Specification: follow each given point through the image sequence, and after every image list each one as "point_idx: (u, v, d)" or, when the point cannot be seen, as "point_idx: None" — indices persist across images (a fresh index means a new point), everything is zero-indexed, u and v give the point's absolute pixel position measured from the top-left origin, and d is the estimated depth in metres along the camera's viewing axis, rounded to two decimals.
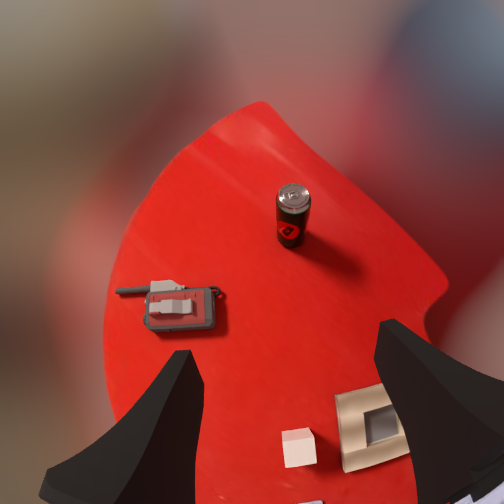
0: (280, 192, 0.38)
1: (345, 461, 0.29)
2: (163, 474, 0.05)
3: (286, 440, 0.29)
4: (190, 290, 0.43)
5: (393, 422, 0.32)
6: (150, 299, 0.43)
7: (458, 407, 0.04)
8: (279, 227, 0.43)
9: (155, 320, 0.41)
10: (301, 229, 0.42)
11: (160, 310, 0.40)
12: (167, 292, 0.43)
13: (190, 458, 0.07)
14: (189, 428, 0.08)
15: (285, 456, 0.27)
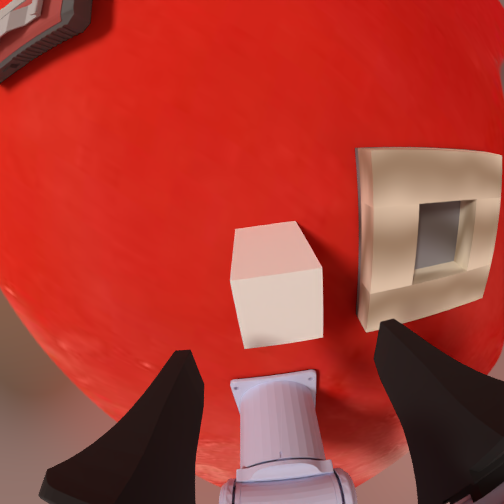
0: None
1: (370, 310, 0.18)
2: (163, 474, 0.05)
3: (242, 274, 0.12)
4: None
5: (453, 236, 0.18)
6: None
7: (458, 407, 0.04)
8: None
9: None
10: None
11: None
12: (13, 9, 0.07)
13: (190, 458, 0.07)
14: (189, 428, 0.08)
15: (242, 321, 0.13)
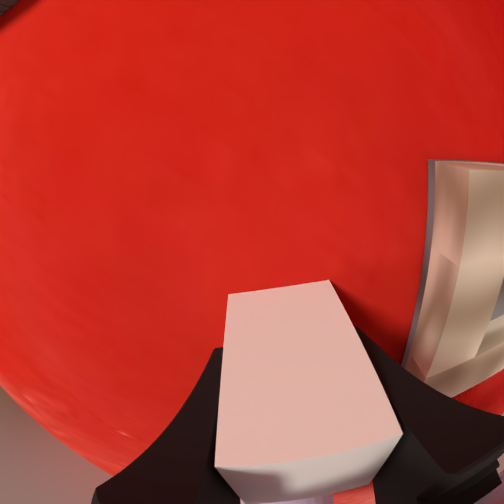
0: None
1: None
2: (220, 478, 0.05)
3: (239, 449, 0.05)
4: None
5: None
6: None
7: (406, 431, 0.04)
8: None
9: None
10: None
11: None
12: None
13: None
14: None
15: (241, 492, 0.05)
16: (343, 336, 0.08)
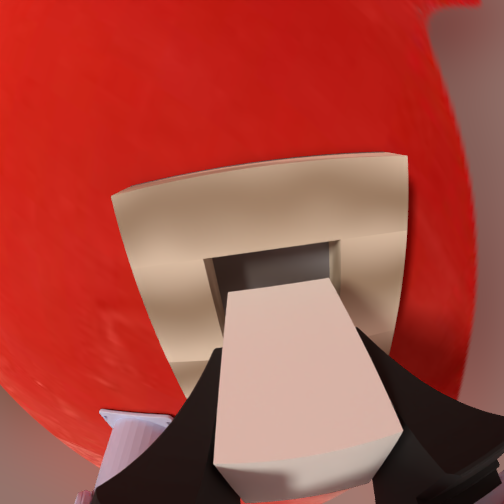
0: None
1: (178, 377, 0.15)
2: (220, 478, 0.05)
3: (238, 446, 0.05)
4: None
5: None
6: None
7: (405, 431, 0.04)
8: None
9: None
10: None
11: None
12: None
13: None
14: None
15: (240, 490, 0.05)
16: (343, 333, 0.08)
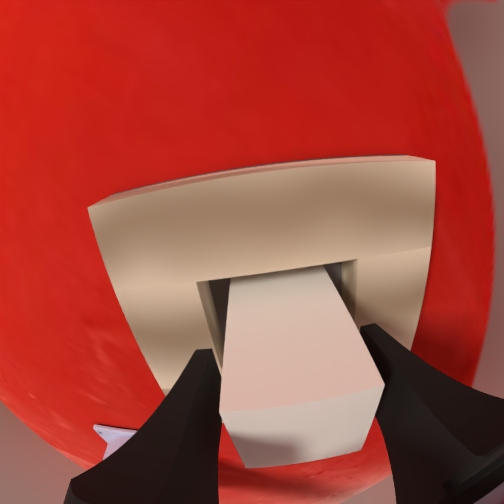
0: None
1: None
2: (192, 477, 0.05)
3: (241, 396, 0.06)
4: None
5: None
6: None
7: (432, 420, 0.04)
8: None
9: None
10: None
11: None
12: None
13: (214, 458, 0.07)
14: (212, 428, 0.08)
15: (242, 449, 0.07)
16: (332, 306, 0.09)
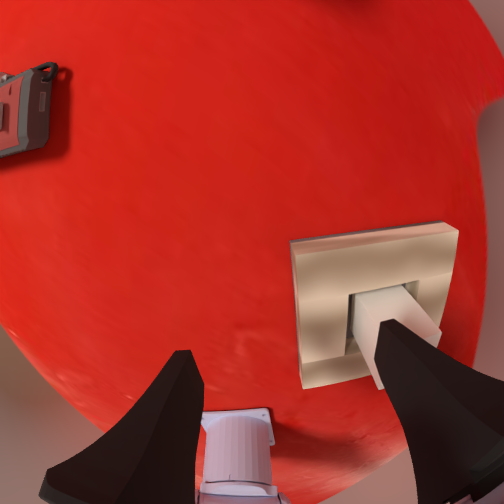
0: None
1: (303, 374, 0.21)
2: (163, 474, 0.05)
3: None
4: (6, 83, 0.11)
5: None
6: None
7: (457, 408, 0.04)
8: None
9: None
10: None
11: None
12: None
13: (190, 458, 0.07)
14: (189, 428, 0.08)
15: None
16: (411, 303, 0.17)
